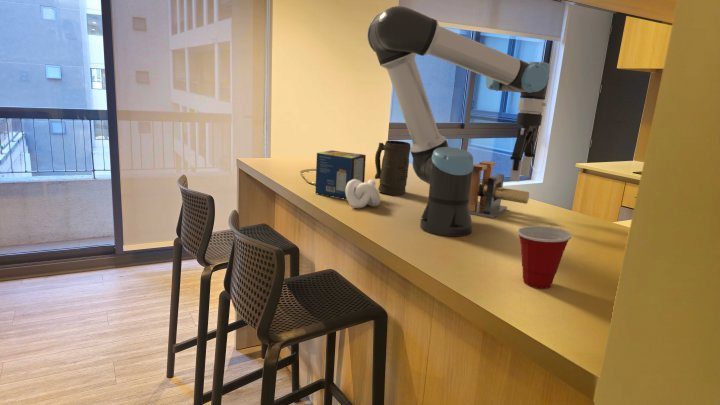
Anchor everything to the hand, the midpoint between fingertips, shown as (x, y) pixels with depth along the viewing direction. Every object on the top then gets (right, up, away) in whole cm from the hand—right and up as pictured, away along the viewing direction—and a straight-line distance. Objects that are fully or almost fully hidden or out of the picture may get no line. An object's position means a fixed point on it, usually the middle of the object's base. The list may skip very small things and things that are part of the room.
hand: (519, 178), depth 152 cm
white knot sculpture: (-52, -10, +6) cm, 54 cm away
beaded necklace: (-68, +2, +49) cm, 84 cm away
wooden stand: (-11, -11, +10) cm, 18 cm away
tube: (-8, -7, +7) cm, 12 cm away
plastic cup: (-14, -26, -51) cm, 59 cm away
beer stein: (-41, -4, +30) cm, 51 cm away
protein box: (-60, -5, +21) cm, 64 cm away
